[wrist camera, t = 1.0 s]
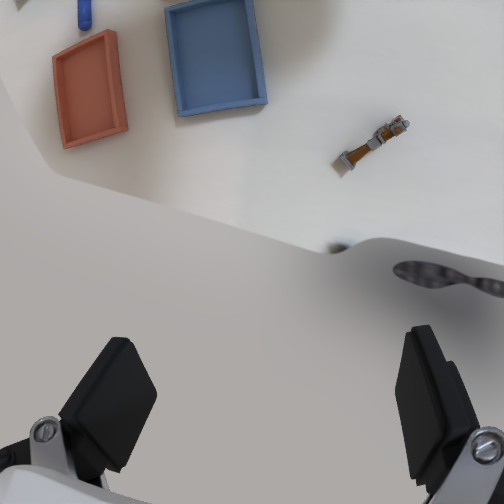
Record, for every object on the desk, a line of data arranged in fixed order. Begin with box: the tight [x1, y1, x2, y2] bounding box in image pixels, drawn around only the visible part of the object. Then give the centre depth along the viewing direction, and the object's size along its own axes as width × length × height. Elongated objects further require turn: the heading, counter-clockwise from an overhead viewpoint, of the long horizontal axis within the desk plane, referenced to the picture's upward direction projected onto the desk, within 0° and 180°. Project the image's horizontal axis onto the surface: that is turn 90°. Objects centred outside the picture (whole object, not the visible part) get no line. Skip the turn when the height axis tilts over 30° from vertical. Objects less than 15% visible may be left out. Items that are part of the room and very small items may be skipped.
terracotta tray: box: [52, 29, 128, 149], centre depth 31 cm, size 13×9×2 cm
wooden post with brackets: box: [341, 115, 409, 171], centre depth 29 cm, size 2×8×4 cm, turn 133°
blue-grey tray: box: [164, 0, 268, 117], centre depth 28 cm, size 13×9×2 cm
